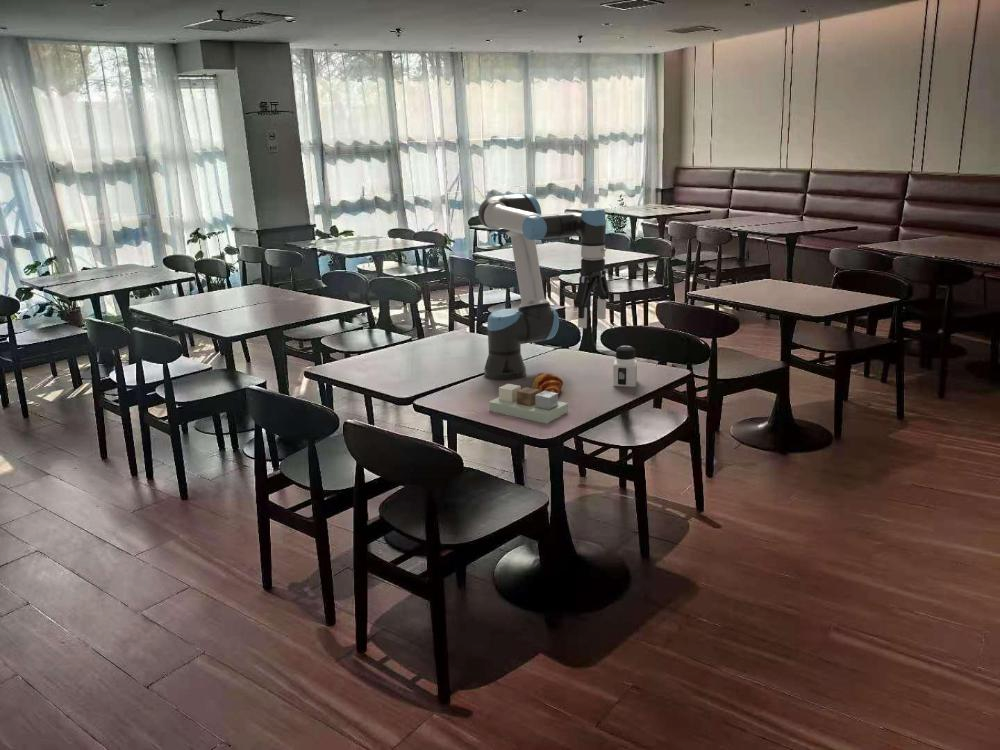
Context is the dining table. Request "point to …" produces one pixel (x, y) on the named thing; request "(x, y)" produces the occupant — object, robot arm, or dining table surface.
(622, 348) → the container
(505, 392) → the key ivory
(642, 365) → the dining table surface
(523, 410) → the pale green flat block
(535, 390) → the brown wooden cube
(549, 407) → the white marble cube
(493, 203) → the robot arm
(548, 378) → the croissant
